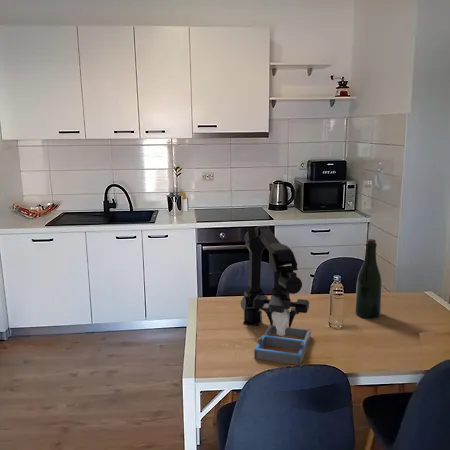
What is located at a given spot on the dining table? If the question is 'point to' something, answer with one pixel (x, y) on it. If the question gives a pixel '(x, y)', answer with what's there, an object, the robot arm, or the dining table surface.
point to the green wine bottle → (369, 285)
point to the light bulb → (281, 321)
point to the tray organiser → (283, 345)
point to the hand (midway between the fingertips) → (280, 326)
